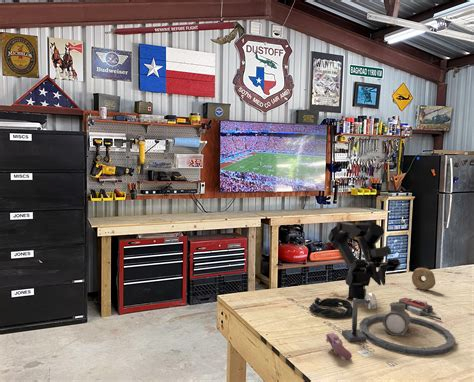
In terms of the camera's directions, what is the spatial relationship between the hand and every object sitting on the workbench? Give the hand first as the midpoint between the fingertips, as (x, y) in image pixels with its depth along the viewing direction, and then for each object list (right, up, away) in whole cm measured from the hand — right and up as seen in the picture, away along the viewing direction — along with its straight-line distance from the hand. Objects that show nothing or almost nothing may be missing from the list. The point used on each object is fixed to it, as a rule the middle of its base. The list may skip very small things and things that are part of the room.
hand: (382, 284), depth 159 cm
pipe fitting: (+2, -14, -11) cm, 18 cm away
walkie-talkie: (+18, -13, +8) cm, 23 cm away
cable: (-18, -12, +5) cm, 23 cm away
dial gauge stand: (-14, -14, -18) cm, 27 cm away
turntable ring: (+3, -14, -15) cm, 21 cm away
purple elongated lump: (-24, -15, -29) cm, 41 cm away
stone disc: (+32, -11, +37) cm, 50 cm away
